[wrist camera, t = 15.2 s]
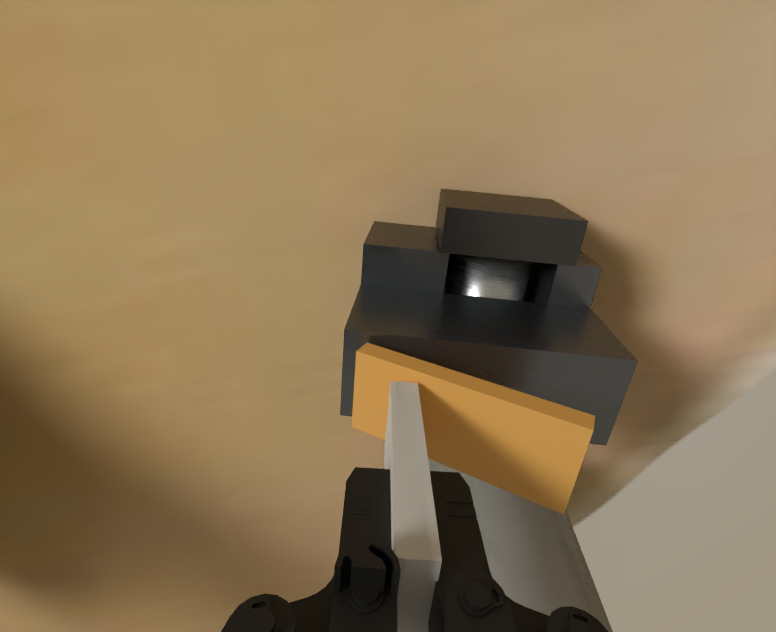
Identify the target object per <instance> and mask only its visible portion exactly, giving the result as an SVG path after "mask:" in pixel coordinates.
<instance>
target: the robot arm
mask: <svg viewBox="0 0 776 632" xmlns="http://www.w3.org/2000/svg"><path fill="white" fill-rule="evenodd" d="M473 504H474V503H473V499H472V494H471V490H470V487H469V485H468V484H467V483H466V481H465V480H464V478H463V477H462V476H461V474H460V473H459V472H441V471H430V470H429V462H428V455H427V448H426V440H425V433H424V426H423V419H422V411H421V404H420V397H419V389H418V383H413V382H399V381H391V384H390V394H389V404H388V414H387V425H386V435H385V469H375V468H358V467H355V469H354V470H353V472H352V473H351V475H350V476H349V478H348V479H347V481H346V490H345V500H344V509H343V518H342V528H341V537H340V547H339V555H338V558H337V561H336V564H335V572H334V576H333V578H332V580H331V581H330V582H329V583H328V585H327V586H326V587H325V588H324V589H322V590H321V591H319V592H318V593H317V594H314V595H312V596H310V597H307V598H304V599H301V600H297V601H294V602H291V603H288V602H287V601H286V600H284V599H283V598H281V597H279V596H278V595H271V594H262V595H258V596H254V597H251V598H249V599H248V600H246V601H245V602H243V603H242V604H240V605H239V606H238V607H237V609H236V610H235V611H234V612H233V614H232V615H231V616H230V617H229V619H228V621H227V622H226V624H225V626H224V628H223V629H222V631H221V632H428V630H429V632H609V631H608V630H607V629H606V628H605V627H604V626H603V625H602V623H601V622H600V621H599V620H598V619H596V618H595V617H594V616H592V615H591V614H589V613H588V612H586V611H584V610H581V609H579V608H576V607H573V606H568V607H559V608H558V609H556V610H554V611H552V613H551V614H550V616H549V615H546V614H543V613H541V612H538V611H535V610H533V609H530V608H527V607H525V606H522V605H520V604H518V603H516V602H514V601H513V600H512V599H510V598H509V597H508V596H506V595H505V593H504V591H503V589H502V587H501V586H500V585H499V584H498V583H497V582H496V581H495V580H494V579H493V578H492V575H491V572H490V569H489V565H488V561H487V557H486V553H485V549H484V544H483V540H482V536H481V532H480V528H479V524H478V520H477V515H476V511H475V507H474V505H473Z"/></svg>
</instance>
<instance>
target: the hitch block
mask: <svg viewBox="0 0 776 632" xmlns="http://www.w3.org/2000/svg"><path fill="white" fill-rule="evenodd" d="M448 260H449V253H441V252H440V250H439V242H438V235H437V228H435V227H425V226H415V225H405V224H396V223H386V222H376V221H374V223H373V225H372V227H371V229H370V232H369V234H368V236H367V238H366V240H365V242H364V247H363V262H362V278H361V286H360V289H359V291H358V294H357V297H356V299H355V302H354V305H353V307H352V310H351V313H350V316H349V318H348V321H347V324H346V326H345V329H344V348H343V369H342V389H341V409H340V415H344V416H352V411H353V395H354V379H355V363H356V351H357V350H358V349H359V348H361V347H362V346H363V345H365V344H366V343H370V344H374V345H377V346H380V347H383V348H386V349H389V350H392V351H395V352H398V353H402V354H405V355H408V356H411V357H414V358H417V359H420V360H423V361H426V362H429V363H433V364H436V365H439V366H442V367H445V368H448V369H451V370H454V371H457V372H460V373H464V374H467V375H470V376H473V377H476V378H479V379H482V380H485V381H488V382H492V383H495V384H498V385H501V386H504V387H507V388H510V389H513V390H516V391H519V392H523V393H526V394H529V395H532V396H535V397H538V398H541V399H544V400H547V401H551V402H554V403H557V404H560V405H563V406H566V407H569V408H572V409H575V410H578V411H582V412H585V413H588V414H591V415H594V416H595V422H594V431H593V433H592V436H591V439H590V442H589V443H590V444H598V445H606V444H607V442H608V439H609V436H610V434H611V431H612V428H613V426H614V423H615V420H616V418H617V415H618V412H619V410H620V407H621V404H622V402H623V399H624V396H625V393H626V391H627V388H628V385H629V383H630V380H631V377H632V375H633V372H634V369H635V367H636V364H637V360H636V359H635V358H634V357H633V355H632V354H631V353H630V352H629V351H628V350H627V349H626V348H625V347H624V345H623V344H622V343H621V342H620V341H619V340H618V339H617V338H616V337H615V335H614V334H613V333H612V332H611V331H610V330H609V329H608V328H607V327H606V325H605V324H604V323H603V322H602V321H601V320H600V319H599V318H598V317H597V315H596V314H595V313H594V312H593V311H592V310H591V309H590V307H591V304H592V300H593V297H594V294H595V291H596V287H597V284H598V281H599V277H600V274H601V271H602V268H601V267H600V266H599V265H597V264H596V263H595V262H594V261H593V260H591V259H590V258H589V257H588V256H586V255H585V254H584V253H583V252H582V251H580V252H579V256H578V259H577V263H576V266H568V265H558V264H548V263H539V262H533V264H532V268H531V273H530V277H529V281H528V285H527V290H526V294H525V298H524V301H516V300H506V299H497V298H487V297H478V296H468V295H459V294H449V293H444V287H445V280H446V273H447V266H448Z"/></svg>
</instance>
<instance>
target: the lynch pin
mask: <svg viewBox="0 0 776 632" xmlns="http://www.w3.org/2000/svg"><path fill="white" fill-rule="evenodd" d="M587 223H588V221H587V220H585V219H584V218H582V217H580V216H579V215H577V214H575V213H574V212H572V211H570V210H569V209H567V208H565V207H564V206H562V205H560V204H559V203H557V202H555V201H554V200H551V199H541V198H530V197H520V196H510V195H500V194H490V193H480V192H469V191H459V190H449V189H441V192H440V200H439V207H438V215H437V222H436V228H437V235H438V242H439V250H440V252H441V253H451V254H454V258H453V264H452V271H451V277H450V284H449V290H448V293H449V294H459V295H468V296H478V297H487V298H497V299H506V300H516V301H524V298H525V294H526V290H527V285H528V281H529V277H530V273H531V268H532V264H533V262H539V263H548V264H558V265H568V266H576V263H577V259H578V256H579V252H580V248H581V245H582V241H583V237H584V234H585V230H586V227H587Z"/></svg>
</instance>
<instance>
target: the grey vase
mask: <svg viewBox="0 0 776 632" xmlns="http://www.w3.org/2000/svg"><path fill="white" fill-rule="evenodd" d="M428 462H429V470H430V471H441V472H459V473H460V474H461V476H462V477H463V478H464V480H465V481H466V483H467V484H468V485H469V487H470V490H471V494H472V499H473V503H474V504H473V505H474V507H475V511H476V515H477V520H478V524H479V528H480V532H481V536H482V540H483V544H484V549H485V553H486V557H487V561H488V565H489V569H490V572H491V575H492V578H493V579H494V580H495V581H496V582H497V583H498V584H499V585H500V586H501V587H502V589H503V591H504V593H505V595H506V596H508V597H509V598H510V599H512V600H513V601H514V602H516V603H518V604H520V605H522V606H525V607H527V608H530V609H533V610H535V611H538V612H541V613H543V614H546V615H549V616H550V614H551V613H552V611H554V610H556V609H558V608H559V607H568V606H573V607H576V608H579V609H581V610H584V611H586V612H588V613H589V614H591V615H592V616H594V617H595V618H596V619H598V620H599V621H600V622H601V623H602V625H603V626H604V627H605V628H606V629H607V630H608V631H609V632H613V631H612V629H611V626H610V624H609V621H608V619H607V616H606V613H605V610H604V608H603V605H602V603H601V600H600V598H599V595H598V592H597V590H596V587H595V585H594V582H593V579H592V577H591V574H590V571H589V569H588V566H587V564H586V562H585V558H584V556H583V553H582V551H581V548H580V546H579V543H578V541H577V538H576V535H575V533H574V530H573V528H572V525H571V522H570V520H569V517H568V514H567V512H566V510H565V513H564V514H562V513H559V512H557V511H554V510H552V509H549V508H547V507H545V506H542V505H540V504H537V503H535V502H532V501H530V500H528V499H525V498H523V497H520V496H518V495H516V494H513V493H511V492H508V491H506V490H503V489H501V488H499V487H496V486H494V485H491V484H489V483H487V482H484V481H482V480H479V479H477V478H474V477H472V476H470V475H467V474H465V473H462V472H460V471H458V470H455V469H453V468H450V467H448V466H445V465H443V464H441V463H438V462H436V461H433V460H431V459H429V458H428ZM428 632H429V630H428Z"/></svg>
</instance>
